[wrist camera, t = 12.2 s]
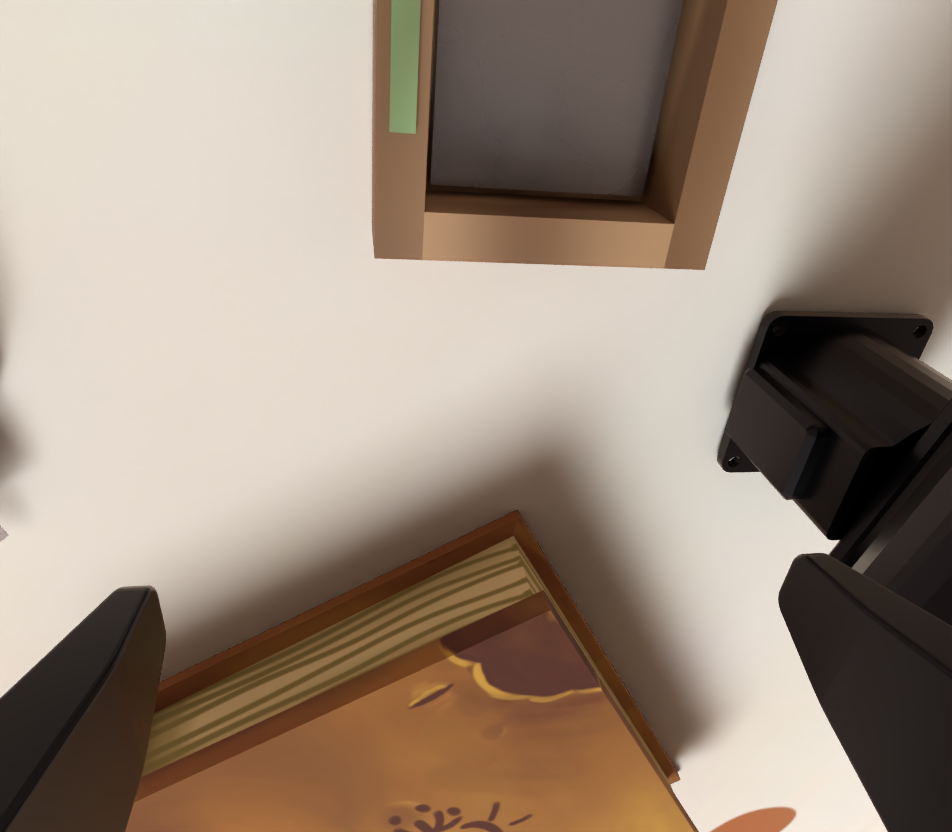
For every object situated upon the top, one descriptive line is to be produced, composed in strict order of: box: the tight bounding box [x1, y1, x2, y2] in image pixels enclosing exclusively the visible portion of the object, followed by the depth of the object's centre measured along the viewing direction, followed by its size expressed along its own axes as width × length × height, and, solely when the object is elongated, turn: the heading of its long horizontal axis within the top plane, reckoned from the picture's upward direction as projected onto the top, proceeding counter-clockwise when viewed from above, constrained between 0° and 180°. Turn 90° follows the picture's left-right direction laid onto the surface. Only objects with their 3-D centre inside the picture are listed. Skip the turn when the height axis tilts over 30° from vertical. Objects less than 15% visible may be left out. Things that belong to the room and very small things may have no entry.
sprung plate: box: [428, 0, 684, 197], centre depth 17 cm, size 6×6×1 cm
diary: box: [125, 510, 699, 832], centre depth 31 cm, size 23×19×6 cm
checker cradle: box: [372, 0, 778, 270], centre depth 16 cm, size 9×9×3 cm
